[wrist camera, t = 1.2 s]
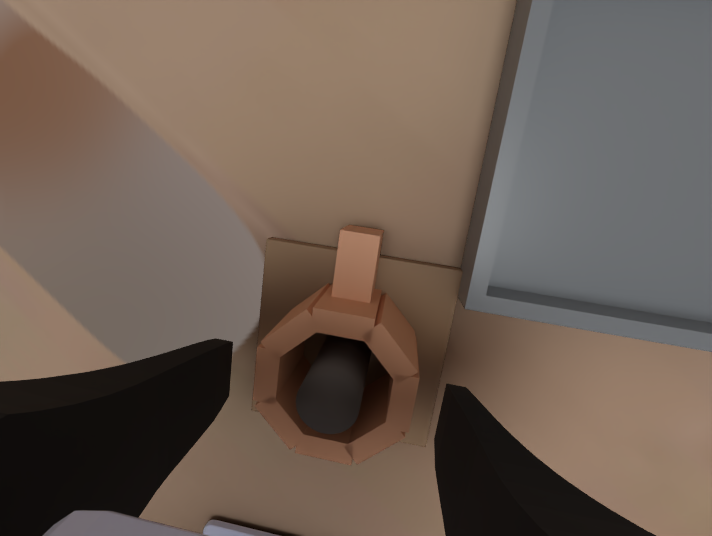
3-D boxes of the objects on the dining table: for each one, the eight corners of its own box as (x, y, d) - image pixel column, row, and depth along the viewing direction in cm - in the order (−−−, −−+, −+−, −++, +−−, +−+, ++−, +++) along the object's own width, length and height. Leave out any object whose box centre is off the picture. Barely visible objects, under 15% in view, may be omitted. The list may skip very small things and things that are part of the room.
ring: (400, 415, 16) (400, 476, 12) (281, 390, 16) (248, 442, 13) (434, 238, 14) (444, 252, 11) (299, 217, 15) (268, 224, 11)
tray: (773, 345, 14) (845, 375, 12) (455, 291, 15) (464, 309, 13) (927, -13, 11) (1056, -64, 9) (526, -45, 12) (553, -97, 10)
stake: (424, 438, 17) (433, 540, 12) (256, 402, 17) (198, 484, 12) (460, 268, 15) (488, 305, 10) (271, 237, 16) (211, 257, 11)
